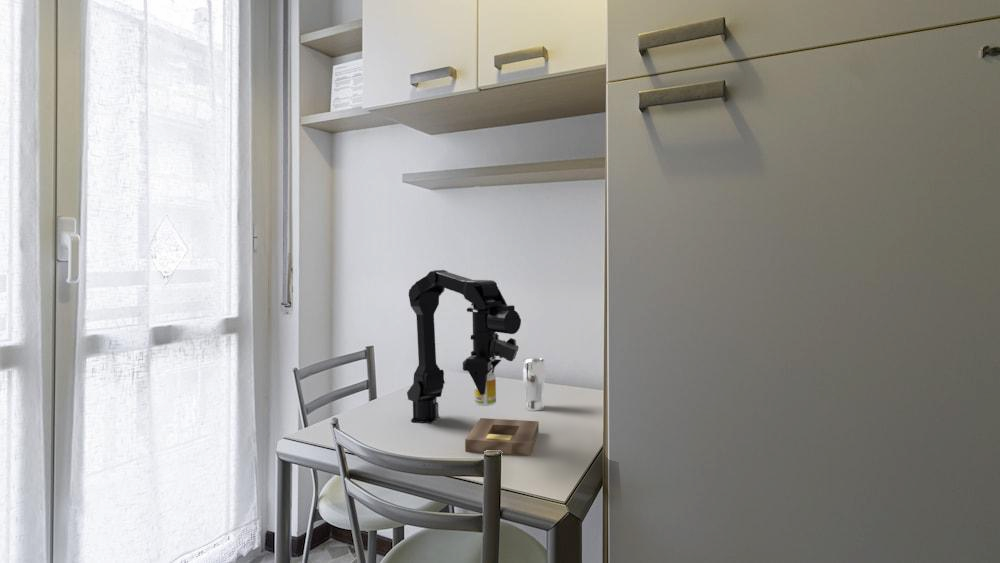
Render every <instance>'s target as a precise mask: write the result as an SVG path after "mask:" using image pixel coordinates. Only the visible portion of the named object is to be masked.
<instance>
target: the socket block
mask: <svg viewBox="0 0 1000 563" xmlns="http://www.w3.org/2000/svg"><path fill="white" fill-rule="evenodd" d="M539 422H540V421H539V420H525V419H524V420H523V419H522V420H521V419H520V420H519V419H505V418H504V419H502V418H487V417H486V418H485V417H480V419H478V421H477V423H476V424H475V425H474V427H472V429H471V431H470V432H469V433H468V435H467V436H466V438H465V441H464V448H465V449H464V450H465V452H468V451H471V452H470V453H481V454H483V452H484V451H486V450H501V451H502V452H503V454H502V455H513V456H525V457H530V456H531V455H532V453H533V452H532V451H533V449H534V446H535V443H536V442H537V438H538V435H539V429H540V427H539V425H540V424H539Z"/></svg>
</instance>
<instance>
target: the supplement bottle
mask: <svg viewBox="0 0 1000 563" xmlns="http://www.w3.org/2000/svg"><path fill="white" fill-rule="evenodd" d="M491 368H493V366H492V365H491ZM492 371H493V369H492V370H491V371H490V372H489V373H488V374H487V382H486V389H485V394H484V395H481V394H480V393H479V391H478V389H477V387H476V385H475V383H474V382H473V384H474V403H475V405H477V406H481V407H487V406H493V405H495V404H496V403H497V387H496V386H497V383H496V382H497V381H496V375H495V372H494V373H492Z"/></svg>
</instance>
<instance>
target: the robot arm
mask: <svg viewBox="0 0 1000 563" xmlns="http://www.w3.org/2000/svg"><path fill="white" fill-rule="evenodd" d="M445 289H447V290H449V291H453V292H455V293H458V294H461V295H462V296H463V298H464V299H465V300H466V301H467V302H470V304H471V305H469V307H467V308H466V312H468V313H472V314H471V315H472V334H471V335H470V340H471V341H472V351H471V352H470V356H468V357H467V358H466V359H464V360H463V362H462V370H463V371H465V372H468V374H469V375H470V377H471V379H472V381H473V384H474V383H475V384H474V386H475V385H476V387H477V389H478V391H479V393H480V394H481V395H484V394H485V389H486V382H487V374H488V373H489V372H490V371H491V370H492V369H493V371H492V373H494V374H495V369H496V366H498V365H499V363H501V361H502V359H505V360H506V361H509V362H513V361H514V360H515V359H516V356H517V353H518V351H519V348H520V347H519V345H518V344H517V340H516V339H515V338H512V337H510V338H509V339H508V340H507V341H506V340H504V339H503V340H502V339H499V334H498V333H501V334H508V335H514V334H516V333H518V331H519V330H520V328H521V325H522V318H521V317H520V314H519V312H517V311H516V310H515V307H516V306H515V305H513V304H512V305H509V304H507V302H506V300H505V298H504V296H503V295H502V292H501V290H500V289H499V287H498V284H497V282H496V281H494V280H493V279H471V278H468V277H465V276H462V275H459V274H455V273H452V272H449V271H448V270H445V269H436V270H435V269H433V270H431V271H429V272H428V273H427V274H426V275H425V276H423V277H422V278H420V279H418V281H417V280H416V282H414V284H413V285H412V286H411V287H410V288H409V290H408V298H409V304H410V307H411V309H412V310H413V312H414V314H416V315H415V316H416V330H417V331H416V332H417V350H418V351H417V353H418V354H417V356H418V365H417V367H416V370H415V372H414V374H413V383H412V385H411V386H410V387H409V389H408V391H406V395H407V400H409V401H412V418H411V419H410V422H412V423H428V424H429V423H431V424H432V423H434V422H435V421H436V420H437V418H439V415H440V414H439V402H437V401H438V400H437V398H440V397H442V393H443V389H444V384H446V382H445V378H444V377H445V372H444V369H440V367H439V366H438V364H437V354H436V353H437V352H436V330H435V313H436V311H437V309H438V307H439V305H440V296H441V295H442V294H444V292H445ZM497 357H498V358H499V359H498V358H497ZM491 365H492V366H493V368H491Z"/></svg>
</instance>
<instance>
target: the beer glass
mask: <svg viewBox="0 0 1000 563" xmlns="http://www.w3.org/2000/svg"><path fill="white" fill-rule="evenodd" d="M522 362H523V365H522V380H523V381H522V382H523V387H524V392H525V393H524V394H525V403H524V409H525V410H527V411H530V412H531V411H532V412H533V411H535V412H537V411H542V410H544V408H545V406H544V400H543V399H544V397H543V396H544V395H543V393H544V389H545V382H546V365H545V364H546V363H545V359H543V358H537V357H530V358H524V359H523V361H522Z"/></svg>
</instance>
